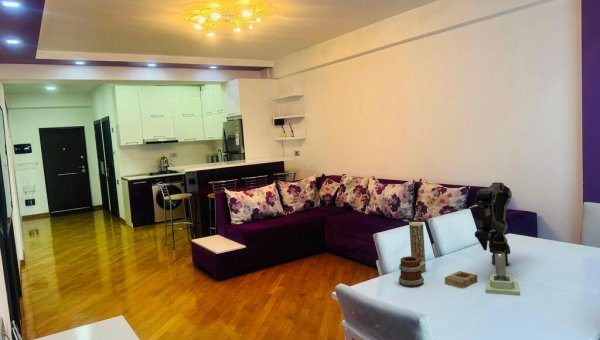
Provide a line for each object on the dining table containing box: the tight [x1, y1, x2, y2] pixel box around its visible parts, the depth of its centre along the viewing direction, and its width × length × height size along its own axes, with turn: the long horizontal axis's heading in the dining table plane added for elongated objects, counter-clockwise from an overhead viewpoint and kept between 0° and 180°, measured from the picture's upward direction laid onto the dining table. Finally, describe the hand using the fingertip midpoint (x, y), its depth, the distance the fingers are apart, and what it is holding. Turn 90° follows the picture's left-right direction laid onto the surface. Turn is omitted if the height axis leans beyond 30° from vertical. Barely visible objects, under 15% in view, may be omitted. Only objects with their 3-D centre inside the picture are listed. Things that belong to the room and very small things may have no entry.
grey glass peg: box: [494, 252, 507, 281], centre depth 179 cm, size 4×4×14 cm
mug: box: [398, 252, 425, 288], centre depth 195 cm, size 12×14×15 cm
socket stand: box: [485, 273, 521, 296], centre depth 179 cm, size 13×13×4 cm
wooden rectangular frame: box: [444, 270, 478, 289], centre depth 190 cm, size 12×9×3 cm
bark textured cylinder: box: [408, 221, 427, 274], centre depth 209 cm, size 7×7×25 cm
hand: (488, 247), depth 197 cm, fingers open, 9 cm apart
